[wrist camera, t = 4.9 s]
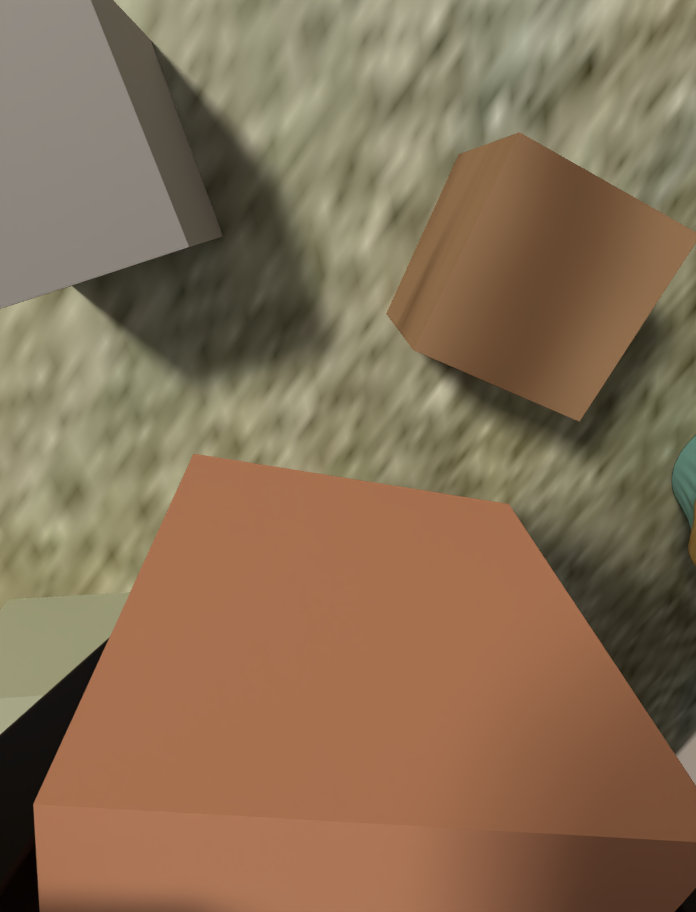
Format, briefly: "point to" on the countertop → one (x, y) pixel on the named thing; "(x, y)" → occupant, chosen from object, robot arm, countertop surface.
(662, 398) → the countertop surface
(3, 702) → the sage block
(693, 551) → the cupcake
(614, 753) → the terracotta block
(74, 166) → the slate block
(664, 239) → the walnut block
